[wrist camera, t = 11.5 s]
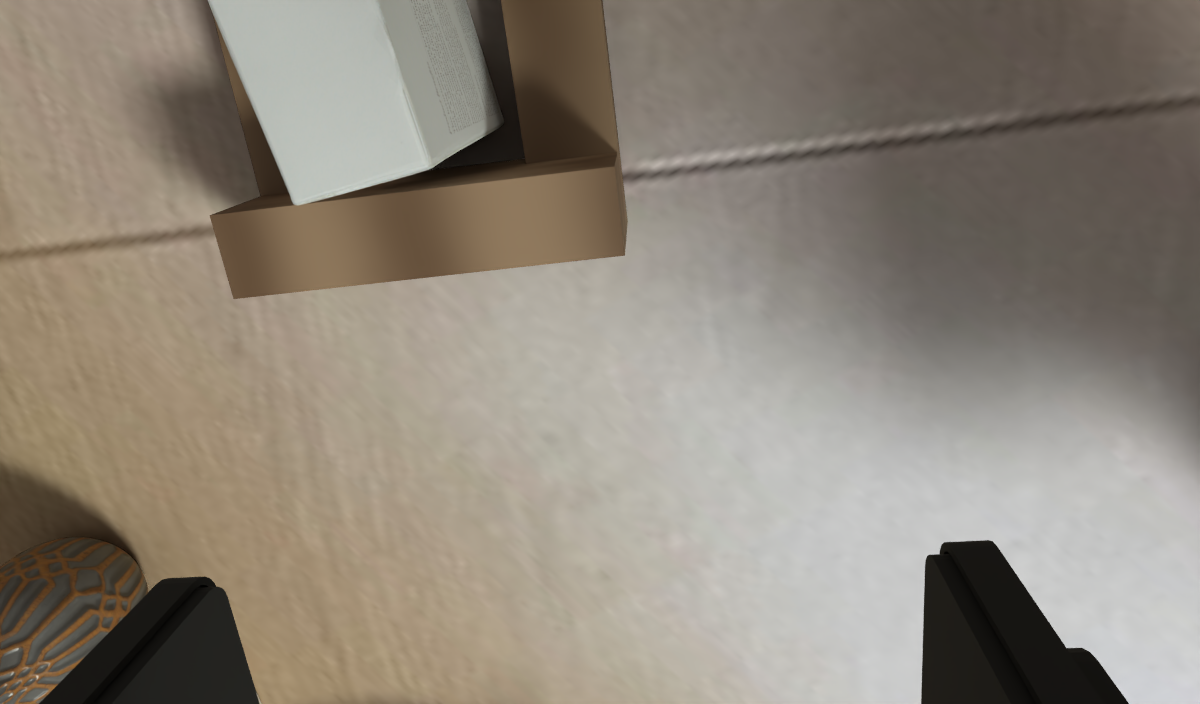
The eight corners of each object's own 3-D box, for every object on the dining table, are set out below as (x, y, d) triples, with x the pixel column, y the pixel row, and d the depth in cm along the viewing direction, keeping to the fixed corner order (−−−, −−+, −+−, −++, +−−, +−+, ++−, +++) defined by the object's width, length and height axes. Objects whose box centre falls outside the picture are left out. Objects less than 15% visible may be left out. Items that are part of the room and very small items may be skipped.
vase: (73, 640, 42) (-64, 782, 34) (11, 528, 40) (-152, 650, 32) (194, 619, 41) (83, 759, 33) (137, 503, 39) (4, 622, 31)
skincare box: (353, 1, 31) (190, -30, 20) (458, -34, 30) (351, -85, 19) (409, 158, 33) (289, 211, 22) (508, 128, 32) (438, 167, 21)
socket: (582, -171, 29) (568, -226, 23) (627, 221, 33) (624, 255, 28) (205, -112, 30) (104, -150, 24) (299, 259, 35) (233, 298, 29)
